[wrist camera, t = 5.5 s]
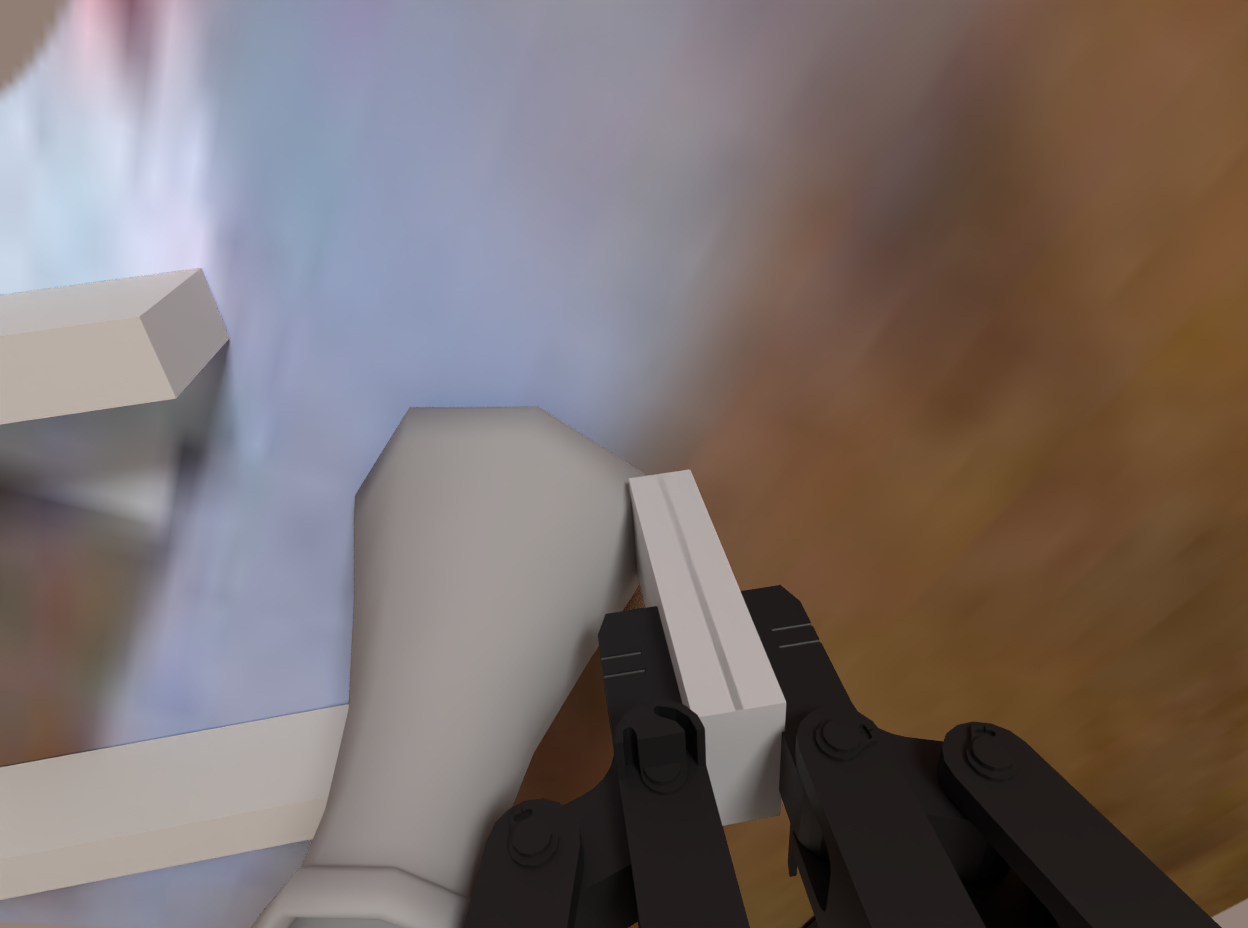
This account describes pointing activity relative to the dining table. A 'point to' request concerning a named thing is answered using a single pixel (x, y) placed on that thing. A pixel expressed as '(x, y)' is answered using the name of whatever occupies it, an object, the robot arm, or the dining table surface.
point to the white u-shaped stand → (172, 766)
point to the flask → (458, 652)
